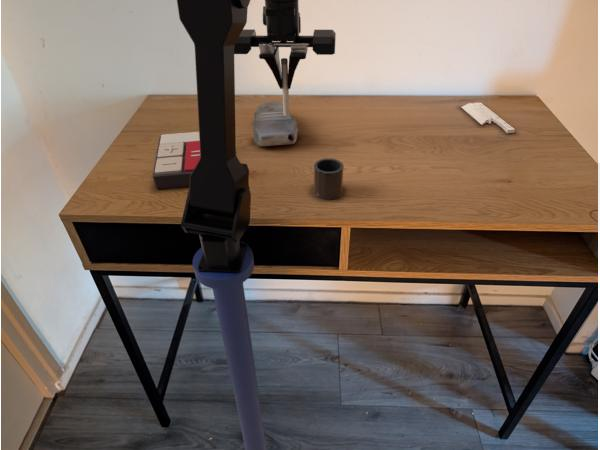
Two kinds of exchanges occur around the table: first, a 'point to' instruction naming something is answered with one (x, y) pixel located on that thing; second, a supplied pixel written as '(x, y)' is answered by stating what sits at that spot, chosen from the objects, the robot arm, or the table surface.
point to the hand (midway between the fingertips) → (285, 88)
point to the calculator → (176, 159)
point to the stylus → (285, 86)
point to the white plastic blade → (486, 116)
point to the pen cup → (328, 178)
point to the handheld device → (273, 125)
